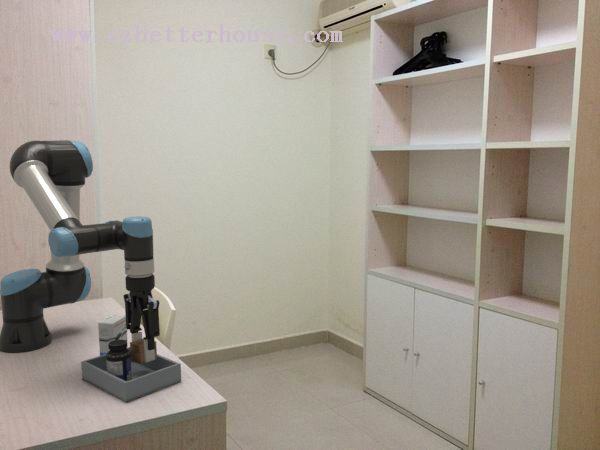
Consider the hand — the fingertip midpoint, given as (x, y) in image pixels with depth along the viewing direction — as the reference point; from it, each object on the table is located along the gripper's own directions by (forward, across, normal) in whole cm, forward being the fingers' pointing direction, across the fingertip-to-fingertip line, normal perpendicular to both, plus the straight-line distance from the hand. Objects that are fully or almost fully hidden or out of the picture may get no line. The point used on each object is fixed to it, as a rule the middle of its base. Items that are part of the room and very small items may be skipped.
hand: (143, 358), depth 154 cm
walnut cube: (0, 0, 0) cm, 0 cm away
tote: (+5, 0, -4) cm, 7 cm away
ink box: (+5, -20, +2) cm, 21 cm away
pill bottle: (+5, 0, -8) cm, 9 cm away
